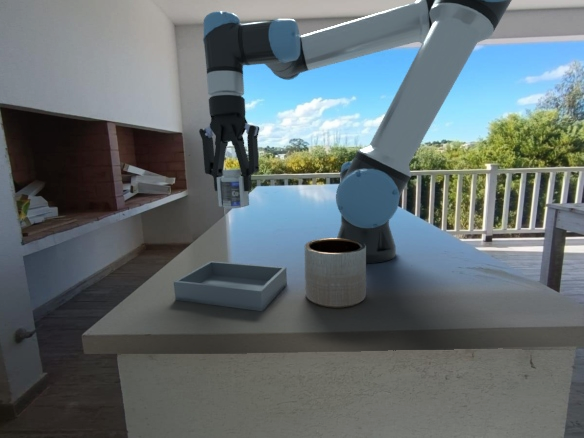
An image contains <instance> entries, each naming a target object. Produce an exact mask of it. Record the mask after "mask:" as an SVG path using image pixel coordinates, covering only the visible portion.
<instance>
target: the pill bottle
mask: <svg viewBox="0 0 584 438" xmlns="http://www.w3.org/2000/svg"><path fill="white" fill-rule="evenodd" d="M241 174H242V173H241V169H240V168H234V169H233V168H231V169H230V168H229V169H223V176H224V178H223V179H222V195H223V206H222V207H223V208H224V209H241V208H242V207H241V205H240V189H239V177H242V176H241ZM223 176H222V177H223Z"/></svg>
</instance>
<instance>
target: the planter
mask: <svg viewBox="0 0 584 438" xmlns="http://www.w3.org/2000/svg"><path fill="white" fill-rule="evenodd" d="M304 291H305V292H304V294H305V297H306V298H307V299H308V300H309V301H310V302H312V303H313V304H315V305H318V306H321V307H326V308H333V309H340V308H349V307H353V306H355V305H358V304H359V303H361V302H362V301H364V299H366V296H367V263H366V245H365V244H364V243H362V242H360V241H357V240H353V239H346V238H337V237H327V238H318V239H313V240H310V241H308V242H306V243H305V244H304Z"/></svg>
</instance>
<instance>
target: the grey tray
mask: <svg viewBox="0 0 584 438" xmlns="http://www.w3.org/2000/svg"><path fill="white" fill-rule="evenodd" d="M287 274H288V273H287V267H285V266H276V265H275V266H273V265H262V264H261V265H260V264H248V263H236V262H225V261H213V260H210V261H208V262H207V263H205V264H203V265H201V266H199V267H198V268H196V269H194V270H192V271H190V272H189V273H187V274H185V275H184V276H181V277H180V278H178V279H176V280H174V281H173V289H174V299H175V301H180V302H187V303H188V302H189V303H195V304H196V303H197V304H202V305H204V304H205V305H211V306H219V307H220V306H221V307H227V308H235V309H242V310H250V311H258V312H259V311H260V312H263V311H264V310H265V309H266V308H267V306H268V305H270V303H271V302H272V301H273V300H274V299H275V298H276V297H277V296H278V295H279V293H281V291H282V290H283V289H284V288H285V287H286V286H287V285H288V279H287Z"/></svg>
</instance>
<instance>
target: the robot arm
mask: <svg viewBox="0 0 584 438" xmlns="http://www.w3.org/2000/svg"><path fill="white" fill-rule="evenodd" d="M512 1H513V0H416V1H415V2H412V3H409V4H405V5H401V6H398V7H395V8H390V9H388V10H384V11H381V12H378V13H374V14H371V15H367V16H364V17H360V18H357V19H353V20H349V21H347V22H343V23H340V24H337V25H334V26H330V27H327V28H323V29H320V30H317V31H313V32H310V33H306V34H303V35H300V30H299V25H298V22H297V21H296V20H295V19H293V18H275V19H272V20H265V21H255V22H248V23H242V22H241V20H240V18H239V16H238V15H237V14H235V13H233V12H229V11H222V10H220V11H219V10H218V11H213V12H210V13H208V14H206V16H204V19H203V38H202V41H203V45H204V56H205V64H206V65H205V68H206V83H207V94H208V95H209V96H210V97H209V98H208V107H209V108H208V109H209V110H208V111H209V116H210V123H209V126H207V127H205V128H200V129H199V131H198V133H199V135H200V138H201V142H202V153H203V164H204V173H205V174H206V175H210V176H212V178H213V186H214V187H213V188H214V191H215V192H217V199H218V207H223V195H222V179H223V178H224V176H223V170H224V166H225V158H226V152H227V151H226V150H227V147H228V144H229V143H230V142H231V144H232V146H233V148H234V152H235V155H236V158H237V159H236V160H237V162H238V165H239V169H241V176H240V177H239V189H240V205H241V208H245V207H248V206H250V195H249V192H250V191H252V176H253V175H254V174H256V173H259V171H260V162H259V161H260V160H259V145H258V144H259V143H258V136H259V134H260V133H259V132H260V127H259V126H258V125H255V124H250V123H248V121H247V119H246V101H245V100H246V98H244V97H243V96H244V94H245V85H244V66H255V65H265V66H266V67H267V68H268V69H269V70H271V72H272V73H273V74H274V76H276V77H278V78H280V79H282V80H286V81H289V80H294V79H296V78H297V77H298V76H299V75H300V74H301V73H304V72H308V71H312V70H315V69H319V68H323V67H327V66H330V65H333V64H338V63H342V62H345V61H349V60H354V59H358V58H362V57H364V56H368V55H373V54H376V53H380V52H383V51H386V50H387V51H388V50H392V49H394V48H399V47H402V46H405V45H406V46H407V45H410V44H413V43H414V44H415V43H417V42H419V43H420V44H421V46H420V47H419V49H418V50H417V53H416V55H415V56H414V58H413V61H412V62H411V64H410V66H409V69H407V72H406V74H405V76H404V78H403V80H402V82H401V83H400V85H399V88H398V89H397V91H396V93H395V95H394V97H393V99H392V101H391V103H390V105H389V106H388V109H386V112H385V114H384V116H383V117H382V120H381V122H380V124H379V126H378V128H377V129H376V132H375V134H374V136H373V137H372V139H371V142H370V143H369V144H368V146H365V147H362V148H360V149H358V150H357V152H356V154H355V156H354V158H353V159H352V160H351V161H346V162H344V163H343V164H342V165H341V170H340V182H339V184H338V186H337V188H336V189H337V190H336V194H335V202H336V206H337V209H338V212H339V213H340V216H341V218H340V227H339V231H338V234H337V236H336V238H346V239H353V240H357V241H360V242H362V243H364V244H365V245H366V264H373V263H374V264H375V263H382V262H388V261H391V260H394V258H396V256H397V255H396V254H397V252H396V251H397V250H396V249H397V246H396V243H395V239H394V236H393V233H392V229H391V226H390V219H392V218H393V217H394V215H395V214H396V212H397V211H398V207H399V205H400V199H401V198H400V197H401V195H402V194H403V191H404V190H405V188H406V186H407V184H408V183H409V181H410V180H411V177H412V173H411V169H410V163H411V161H412V160H413V158H414V156H415V154H416V152H417V150H418V149H419V147H420V145H421V143H422V142H423V140H424V139H425V137H426V135H427V133H428V131H429V130H430V128H431V126H432V124H433V122H434V120H435V118H436V117H437V115H438V113H439V112H440V110H441V108H442V106H443V104H444V102H445V100H446V99H447V97H448V96H449V94H450V92H451V90H452V88H453V87H454V85H455V84H456V81H457V79H458V77H459V75H460V74H461V72H462V71H463V69H464V67H465V65H466V63H467V61H468V60H469V58H470V57H471V55H472V53H473V51H474V49H475V48H476V45H477V44H479V42H482V41H485V40H488V39H489V38H491V37H492V35H493V34H494V32H495V30H496V28H497V27H498V25H499V23H500V21H501V20H502V19H503V16H504V15H505V12H506V11H507V10H508V7H509V6H510V4H511V3H512ZM245 132H246V134H247V136H246V137H247V140H246V141H247V151H246V146H245V139H244V137H243V135H244V133H245ZM214 135H215V141H214V139H213V137H214ZM214 146H215V149H214Z"/></svg>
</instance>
